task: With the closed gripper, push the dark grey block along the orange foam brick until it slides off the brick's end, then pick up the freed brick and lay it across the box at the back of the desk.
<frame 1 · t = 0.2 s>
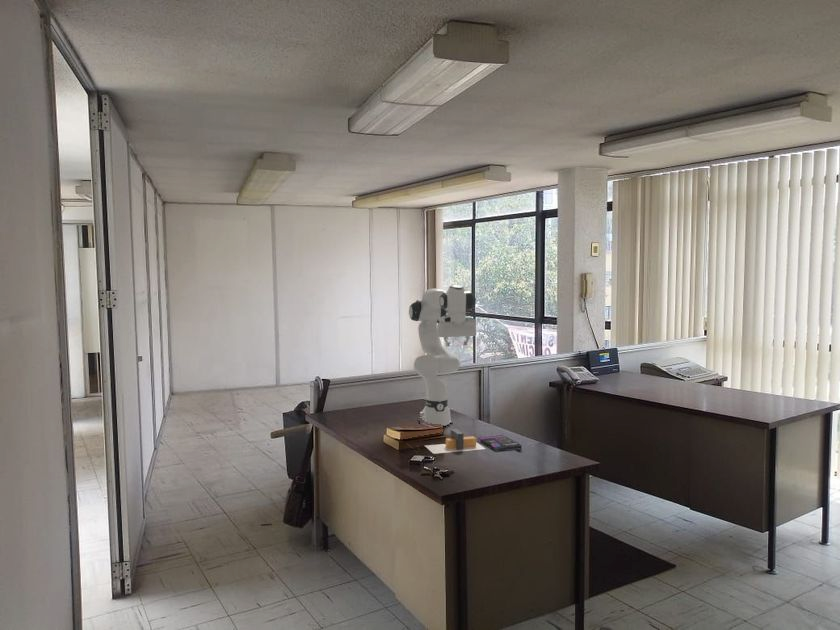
hand: (456, 345, 306), 47 cm above the table, tool pointing down, fingers open, 8 cm apart
box: (499, 448, 296), on the table
dark grey block: (456, 438, 291), point 5 cm above the table, slide at 0.0 cm
base plate: (454, 449, 291), on the table
orange foam brick: (460, 446, 292), point 1 cm above the table, touching base plate
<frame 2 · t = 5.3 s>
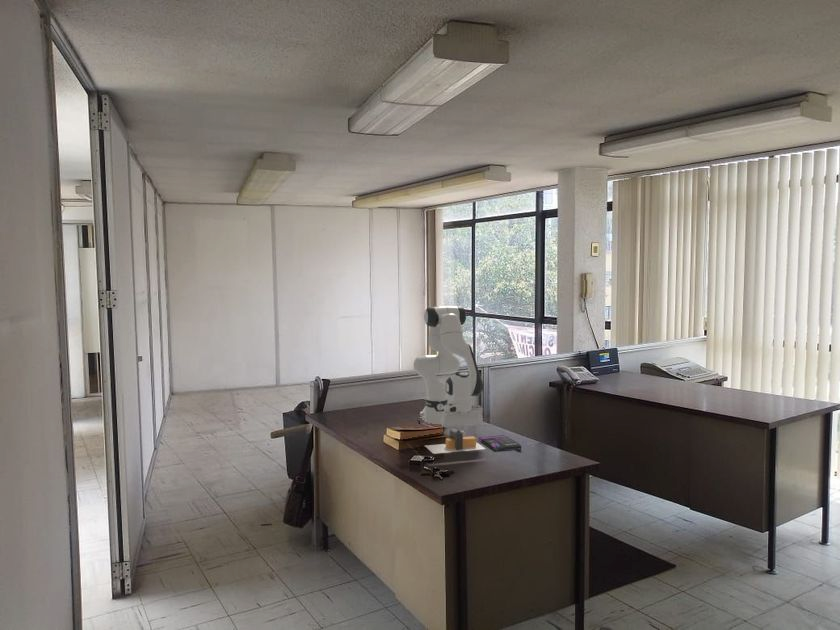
hand: (462, 435, 292), 7 cm above the table, tool pointing down, fingers closed
dark grey block: (456, 438, 291), point 5 cm above the table, slide at 0.4 cm, touching gripper
everything else where it was.
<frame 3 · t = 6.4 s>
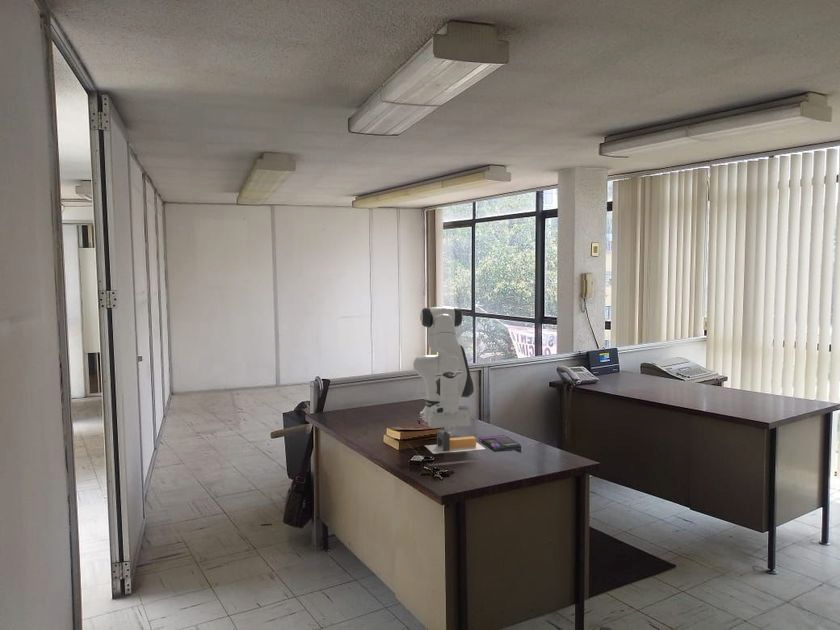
hand: (449, 436, 290), 7 cm above the table, tool pointing down, fingers closed
dark grey block: (443, 440, 289), point 5 cm above the table, slide at 6.9 cm, touching gripper
everything else where it was.
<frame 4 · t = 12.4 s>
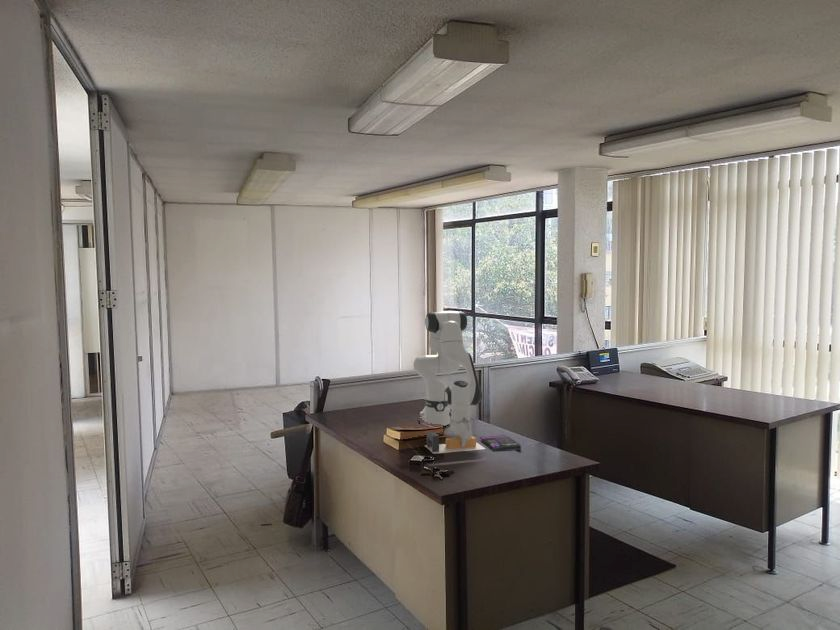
hand: (460, 444, 292), 2 cm above the table, tool pointing down, fingers closed on orange foam brick, 4 cm apart
dark grey block: (432, 440, 288), point 5 cm above the table, slide at 12.0 cm
orange foam brick: (460, 446, 292), point 1 cm above the table, touching base plate, gripper
everything else where it was.
when the fingers open (6 cm above the table, at t = 18.1 s): orange foam brick drops 2 cm, resting on box.
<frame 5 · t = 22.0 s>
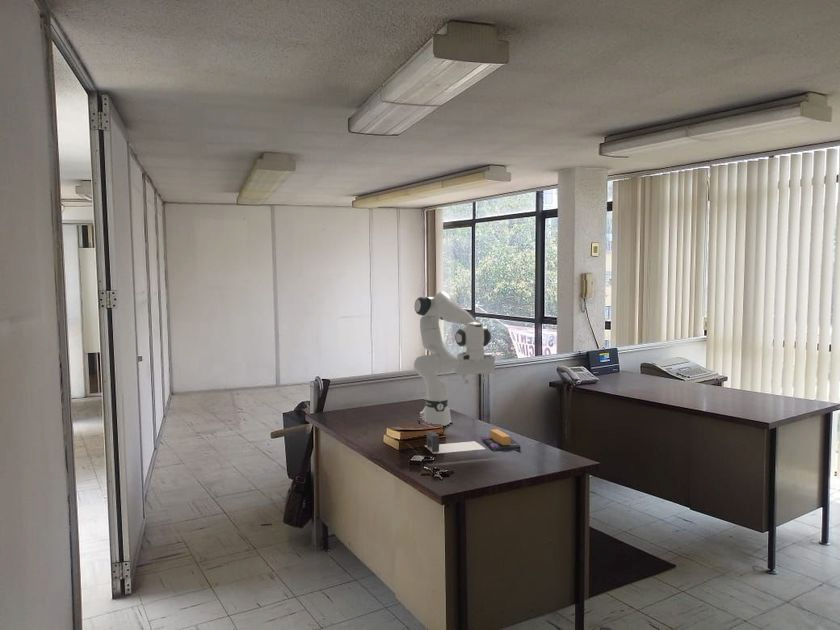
hand: (475, 382, 305), 29 cm above the table, tool pointing down, fingers open, 8 cm apart
box: (500, 448, 296), on the table, touching orange foam brick
orange foam brick: (499, 441, 296), point 3 cm above the table, touching box
everything else where it was.
at the end: dark grey block slide at 12.0 cm; orange foam brick inside the target area on the box (0.2 cm from its centre), point 3.5 cm above the box's base; orange foam brick tilted 0° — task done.
